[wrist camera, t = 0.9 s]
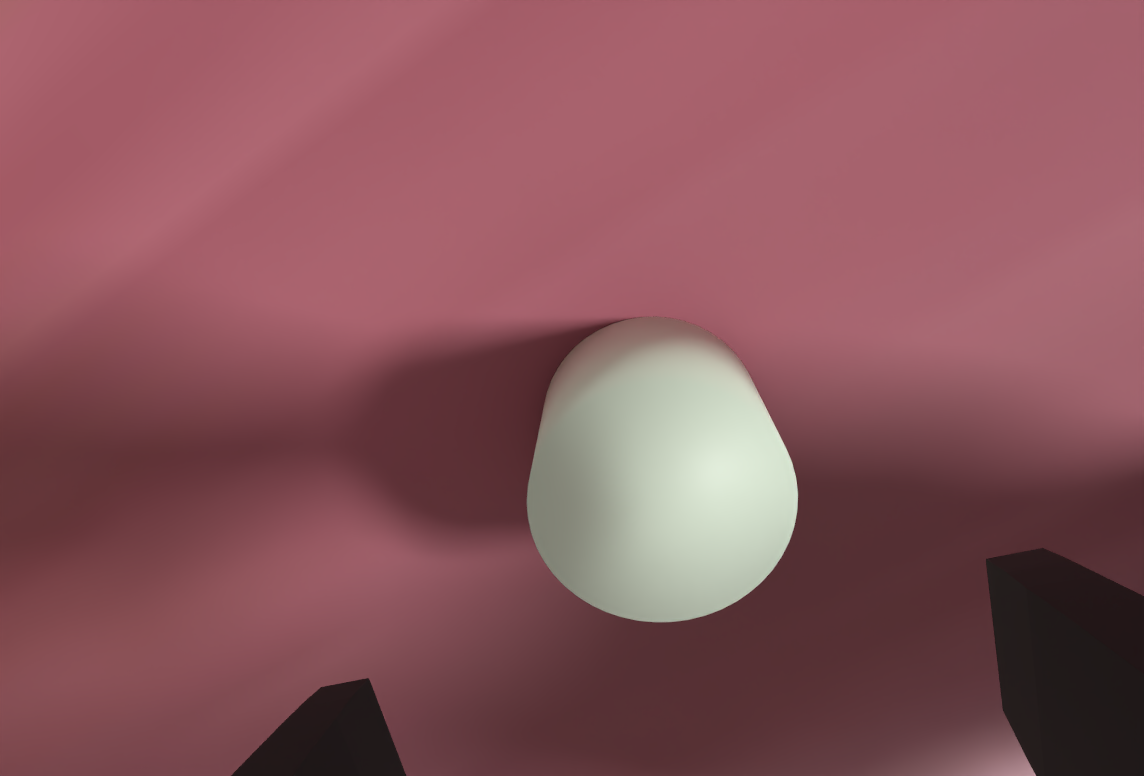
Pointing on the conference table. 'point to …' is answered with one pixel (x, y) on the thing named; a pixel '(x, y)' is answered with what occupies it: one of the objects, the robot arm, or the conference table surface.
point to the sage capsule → (658, 474)
